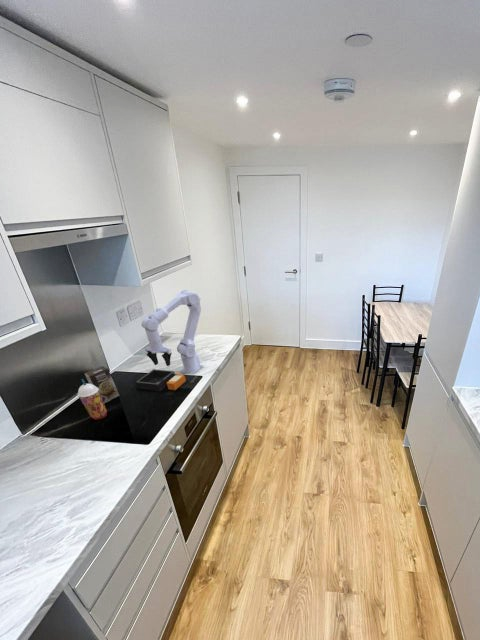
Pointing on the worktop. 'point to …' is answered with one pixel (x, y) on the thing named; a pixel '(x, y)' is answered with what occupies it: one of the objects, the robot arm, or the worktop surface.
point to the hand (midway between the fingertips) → (162, 364)
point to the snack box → (176, 381)
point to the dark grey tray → (155, 380)
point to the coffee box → (103, 383)
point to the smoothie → (92, 400)
